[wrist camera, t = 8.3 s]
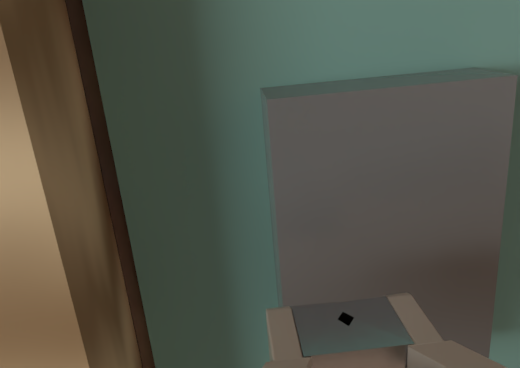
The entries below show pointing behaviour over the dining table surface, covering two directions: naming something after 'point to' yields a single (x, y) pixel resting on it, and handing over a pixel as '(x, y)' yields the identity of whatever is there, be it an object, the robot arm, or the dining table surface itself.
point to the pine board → (54, 206)
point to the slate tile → (392, 192)
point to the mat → (259, 144)
